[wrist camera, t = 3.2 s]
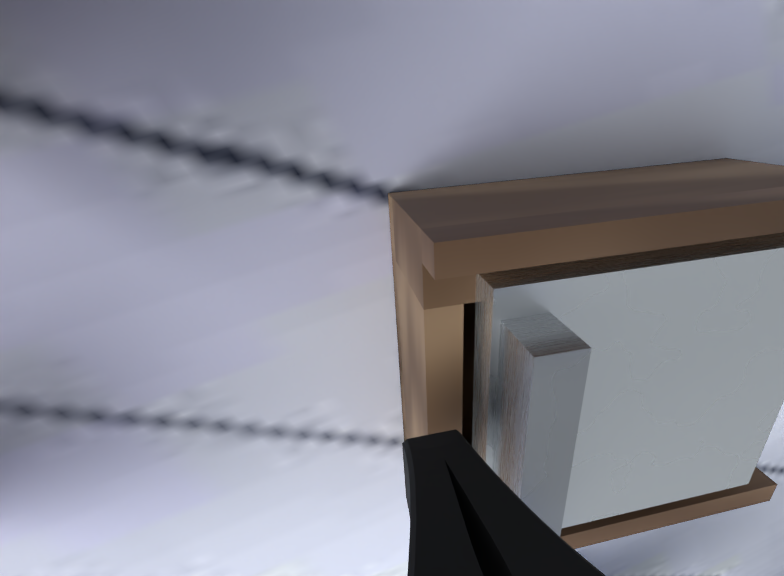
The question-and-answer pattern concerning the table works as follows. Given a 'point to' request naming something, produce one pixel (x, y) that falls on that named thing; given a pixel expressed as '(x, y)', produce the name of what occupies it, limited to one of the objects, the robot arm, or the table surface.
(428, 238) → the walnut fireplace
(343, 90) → the table surface
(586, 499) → the cover plate
